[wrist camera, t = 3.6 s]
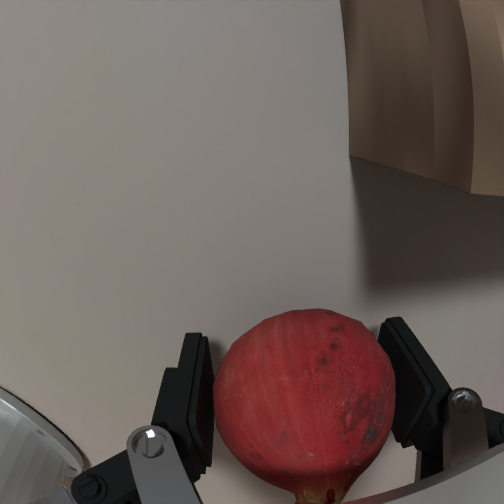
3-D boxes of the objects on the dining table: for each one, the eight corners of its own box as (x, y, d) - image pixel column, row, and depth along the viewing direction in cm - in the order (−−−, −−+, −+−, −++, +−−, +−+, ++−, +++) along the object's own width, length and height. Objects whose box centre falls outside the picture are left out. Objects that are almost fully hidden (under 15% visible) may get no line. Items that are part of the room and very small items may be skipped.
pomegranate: (305, 237, 11) (403, 429, 3) (378, 328, 12) (458, 476, 5) (191, 327, 12) (156, 514, 5) (278, 394, 14) (297, 543, 6)
